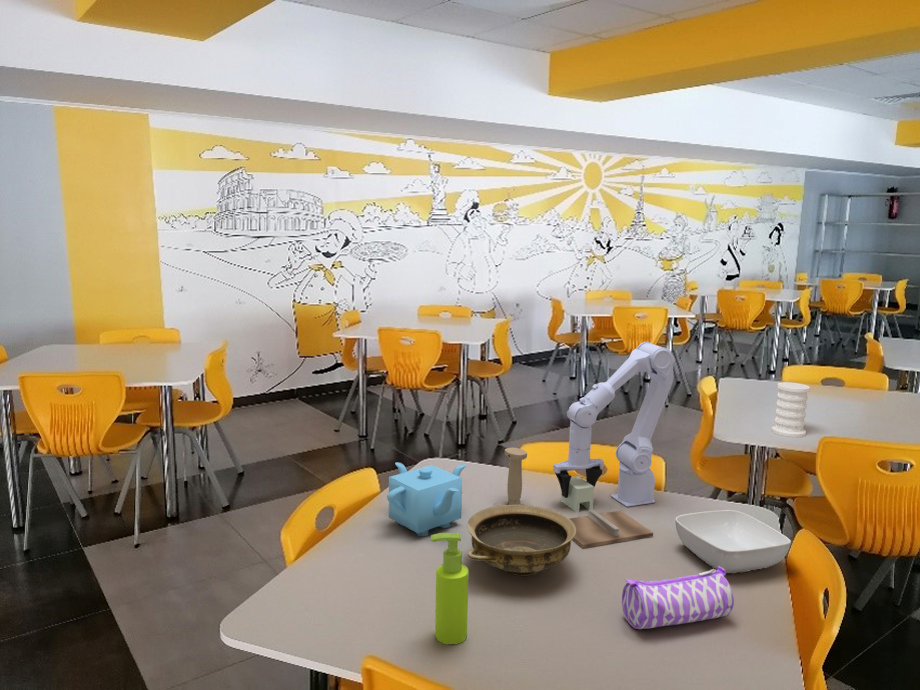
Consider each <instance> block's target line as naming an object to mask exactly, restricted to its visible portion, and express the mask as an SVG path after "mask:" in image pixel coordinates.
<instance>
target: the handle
mask: <svg viewBox="0 0 920 690" xmlns="http://www.w3.org/2000/svg"><path fill="white" fill-rule="evenodd" d="M504 455H505V456H506V458H508V459H509V461H508V463H509V464H508V473H507V487H506V488H507V490H506V491H507V502H508V505H521V498H522V490H523V475H522V474H523V469H522V467H523V466H522V465H523V464H522V463H523V460H525V459H527V457H528V452H527V451H526V450H524V449H521V448H517V447H508V448H505V449H504Z"/></svg>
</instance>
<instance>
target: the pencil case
mask: <svg viewBox="0 0 920 690" xmlns="http://www.w3.org/2000/svg"><path fill="white" fill-rule="evenodd" d="M726 575H727V574H726V571H725V569H723V568H722V567H720V566H718V569H717V570H716V569H714V568H712V569H710V570H707V571H704V572H699V573H697V574H693V575H685V576H680V577H677V578H669V579H661V580H647V581H646V580H635V579H629V578H628V579H627V578H624V580H625V582H626V583H625V584H624V586H623V588H622V595H621V606H622V607H621V608H622V612H623V615H624V617H625V619H626V621H627V622H628V624H629V625H630V626H631V627H632V628H634V629H636V630H642V629H653V628H654V629H655V628H660V627H666V626H674V625H682V624H689V623H694V622H695V623H696V622H701V621H706V620H713V619H717V618H722V617H726V616H729V615H730V614H731V613H732V611H733V608H734V605H735V604H734V602H735V600H734V599H735V598H734V594H733V590H732V587H731V585H730V583H729V581H728V580H727V578H726V577H725V576H726Z"/></svg>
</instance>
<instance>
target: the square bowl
mask: <svg viewBox="0 0 920 690" xmlns="http://www.w3.org/2000/svg"><path fill="white" fill-rule="evenodd" d="M675 529H676V533H677V536H678V537H679V539H680V541H681V542H682V544H683V545H684V546H685V547H686V548H688V549H689V551H691V552H692V553H693V554H694V555H695V554H696V555H695V556H696V557H698V558H699V559H700V560H702V561H703V562H704V561H705V562H704V563H706V564H707V565H708V564H709V565H708V566H710V567H711V566H712V567H711V568H712V569H714V568H715V570H717V569H718V566H720V567H722V568H723V569H725V571H726V573H732V574H736V573H735V572H740V573H743V572H742V571H747V572H749V571H748V570H754V571H756V570H755V569H760V568H765V567H768V568H770V567H772V566H775V565H778V564H779V563H780V562H781V561H782V560H784V559H785V557H786V556H787V554H788V552H789V550H790V548H791V547H790V546H791V544H792V540H791V539H790V538H789V537H787V536H786V535H785V534H783V533H781V532H780V531H778V530H776V529H775V528H773V527H771V526H770V525H768V524H767V523H764V522H763V521H761V520H759V519H757V518H755V517H753V516H752V515H749V514H748V513H745V512H741V511H739V510H736V509H735V510H734V509H733V510H732V509H722V510H720V509H719V510H718V509H717V510H708V511H707V510H706V511H700V512H691V513H685V514H680V515H677V516H676V517H675ZM769 566H770V567H769ZM765 569H766V568H765ZM760 570H761V569H760Z"/></svg>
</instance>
